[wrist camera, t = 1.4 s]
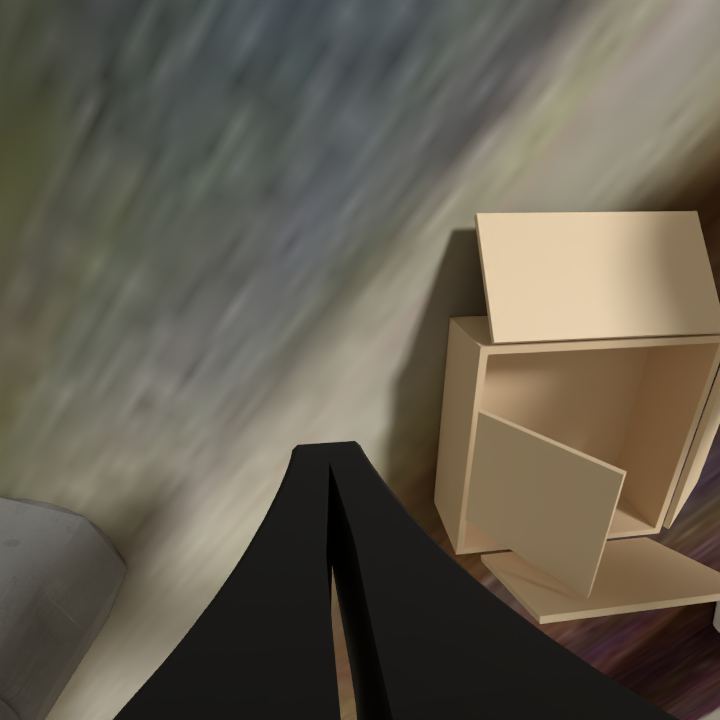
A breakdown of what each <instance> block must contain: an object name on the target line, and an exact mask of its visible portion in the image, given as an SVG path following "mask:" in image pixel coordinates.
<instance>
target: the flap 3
mask: <svg viewBox="0 0 720 720" xmlns="http://www.w3.org/2000/svg"><path fill="white" fill-rule="evenodd" d="M481 561H482V562H483V563H484V564H485V565H486V566H487V567H488V569H489V570H490V571H491V572H492V573H493V574H494V575H495V576H496V577H497V578H498V579H499V580H500V581H501V582H502V584H503V585H504V586H505V587H506V588H507V589H508V590H509V591H510V592H511V593H512V594H513V595H514V596H515V597H516V599H517V600H518V601H519V602H520V603H521V604H522V605H523V606H524V607H525V608H526V609H527V610H528V611H529V612H530V614H531V615H532V616H533V617H534V618H535V619H536V620H537V621H538V622H539V623H540V624H543V623H551V622H559V621H567V620H574V619H582V618H590V617H597V616H605V615H613V614H621V613H628V612H636V611H644V610H651V609H659V608H667V607H674V606H682V605H690V604H698V603H705V602H713V601H720V573H719V572H717V571H715V570H713V569H711V568H709V567H707V566H705V565H702V564H700V563H698V562H696V561H694V560H692V559H690V558H688V557H686V556H684V555H682V554H680V553H678V552H676V551H673V550H671V549H669V548H667V547H665V546H663V545H661V544H659V543H657V542H655V541H653V540H651V539H649V538H647V537H644V538H634V539H625V540H616V541H606V543H605V547H604V550H603V553H602V557H601V560H600V564H599V567H598V570H597V574H596V577H595V580H594V584H593V587H592V591H591V594H590V596H589V597H588V599H586V598H585V597H583V596H582V595H580V594H579V593H577V592H576V591H574V590H573V589H571V588H569V587H568V586H566V585H565V584H563V583H562V582H560V581H559V580H557V579H555V578H554V577H552V576H551V575H549V574H548V573H546V572H545V571H543V570H541V569H540V568H538V567H537V566H535V565H534V564H532V563H531V562H529V561H527V560H526V559H524V558H523V557H521V556H520V555H518V554H517V553H515V552H504V553H495V554H486V555H481Z"/></svg>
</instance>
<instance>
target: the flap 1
mask: <svg viewBox="0 0 720 720" xmlns="http://www.w3.org/2000/svg"><path fill="white" fill-rule="evenodd" d="M475 225H476V232H477V240H478V247H479V254H480V262H481V269H482V277H483V284H484V291H485V299H486V306H487V314H488V321H489V328H490V336H491V343H492V344H506V343H527V342H548V341H569V340H590V339H611V338H632V337H653V336H674V335H695V334H715V333H720V303H719V299H718V295H717V291H716V287H715V283H714V279H713V275H712V271H711V266H710V262H709V258H708V254H707V250H706V246H705V242H704V238H703V234H702V229H701V225H700V221H699V217H698V213H697V211H658V212H560V213H477V214H476V215H475Z"/></svg>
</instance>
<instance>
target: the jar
mask: <svg viewBox="0 0 720 720" xmlns="http://www.w3.org/2000/svg"><path fill="white" fill-rule="evenodd" d="M713 626H714V627H715V628H716V629H717V630H718V632H719V633H720V601H717V602H716V608H715V613H714V619H713Z"/></svg>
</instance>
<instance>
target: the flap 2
mask: <svg viewBox="0 0 720 720" xmlns="http://www.w3.org/2000/svg"><path fill="white" fill-rule="evenodd" d="M626 472H627V471H624V470H622V469H620V468H617V467H615V466H613V465H610V464H608V463H606V462H603V461H601V460H599V459H596V458H594V457H592V456H589V455H587V454H585V453H582V452H580V451H578V450H575V449H573V448H571V447H568V446H566V445H564V444H561V443H559V442H557V441H554V440H552V439H550V438H547V437H545V436H543V435H540V434H538V433H536V432H533V431H531V430H529V429H526V428H524V427H522V426H519V425H517V424H515V423H512V422H510V421H508V420H505V419H503V418H501V417H498V416H496V415H494V414H491V413H489V412H487V411H484V410H480V411H479V412H478V419H477V427H476V435H475V443H474V451H473V459H472V467H471V475H470V483H469V492H468V500H467V508H466V516H465V521H467V522H469V523H470V524H472V525H473V526H475V527H476V528H478V529H479V530H481V531H482V532H484V533H486V534H487V535H489V536H490V537H492V538H493V539H495V540H496V541H498V542H500V543H501V544H503V545H504V546H506V547H507V548H509V549H510V550H512V551H514V552H515V553H517V554H518V555H520V556H521V557H523V558H524V559H526V560H527V561H529V562H531V563H532V564H534V565H535V566H537V567H538V568H540V569H541V570H543V571H545V572H546V573H548V574H549V575H551V576H552V577H554V578H555V579H557V580H559V581H560V582H562V583H563V584H565V585H566V586H568V587H569V588H571V589H573V590H574V591H576V592H577V593H579V594H580V595H582V596H583V597H585V598H586V599H588V597H589V596H590V594H591V591H592V587H593V584H594V580H595V577H596V574H597V570H598V567H599V564H600V560H601V557H602V553H603V550H604V547H605V543H606V540H607V536H608V533H609V530H610V526H611V523H612V520H613V516H614V513H615V509H616V506H617V503H618V499H619V496H620V492H621V489H622V486H623V482H624V479H625V476H626Z"/></svg>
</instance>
